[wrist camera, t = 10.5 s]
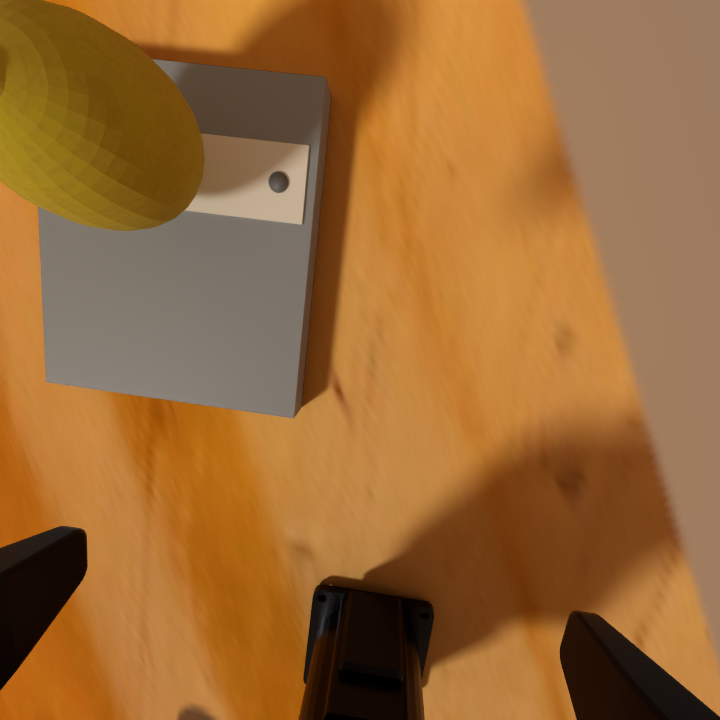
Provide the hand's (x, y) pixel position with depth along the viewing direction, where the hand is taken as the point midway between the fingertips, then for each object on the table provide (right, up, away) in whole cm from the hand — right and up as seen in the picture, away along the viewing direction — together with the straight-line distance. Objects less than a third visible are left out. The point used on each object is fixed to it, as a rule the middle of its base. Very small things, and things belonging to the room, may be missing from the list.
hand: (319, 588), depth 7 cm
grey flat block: (-7, +9, +11) cm, 16 cm away
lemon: (-7, +12, +9) cm, 16 cm away
